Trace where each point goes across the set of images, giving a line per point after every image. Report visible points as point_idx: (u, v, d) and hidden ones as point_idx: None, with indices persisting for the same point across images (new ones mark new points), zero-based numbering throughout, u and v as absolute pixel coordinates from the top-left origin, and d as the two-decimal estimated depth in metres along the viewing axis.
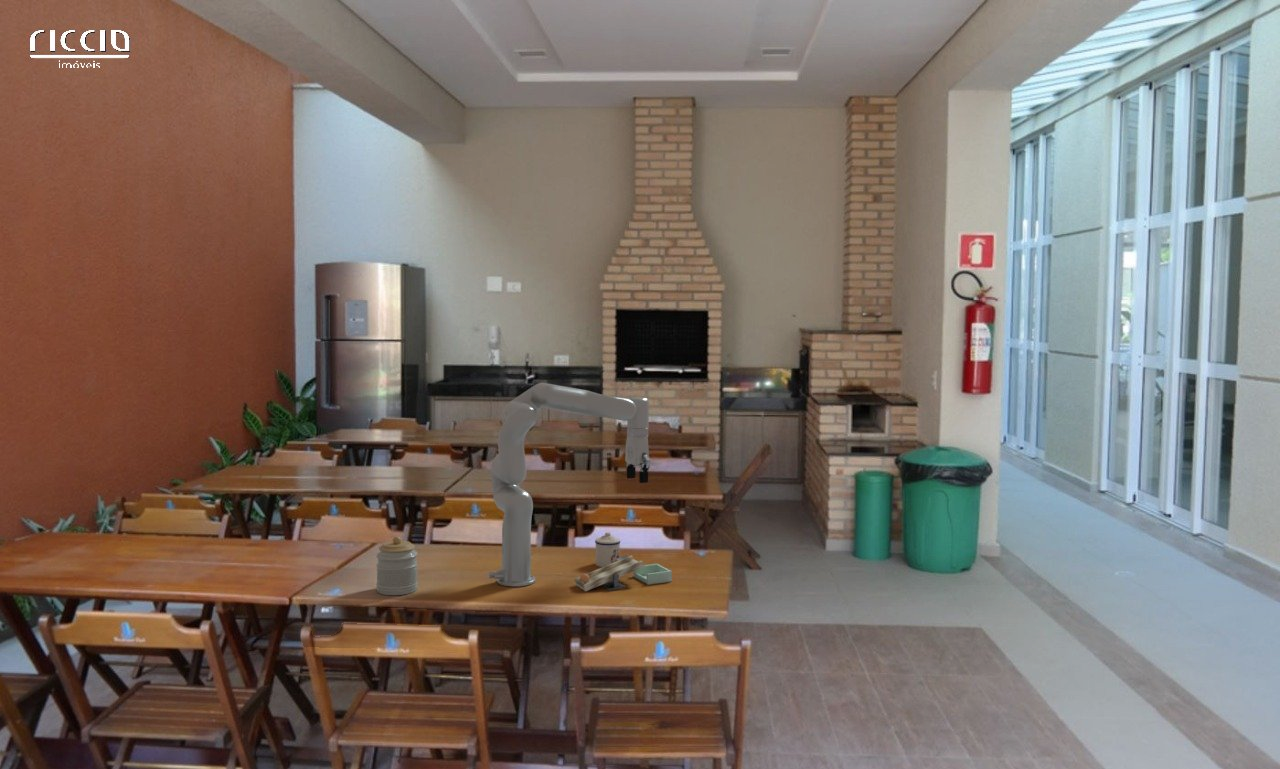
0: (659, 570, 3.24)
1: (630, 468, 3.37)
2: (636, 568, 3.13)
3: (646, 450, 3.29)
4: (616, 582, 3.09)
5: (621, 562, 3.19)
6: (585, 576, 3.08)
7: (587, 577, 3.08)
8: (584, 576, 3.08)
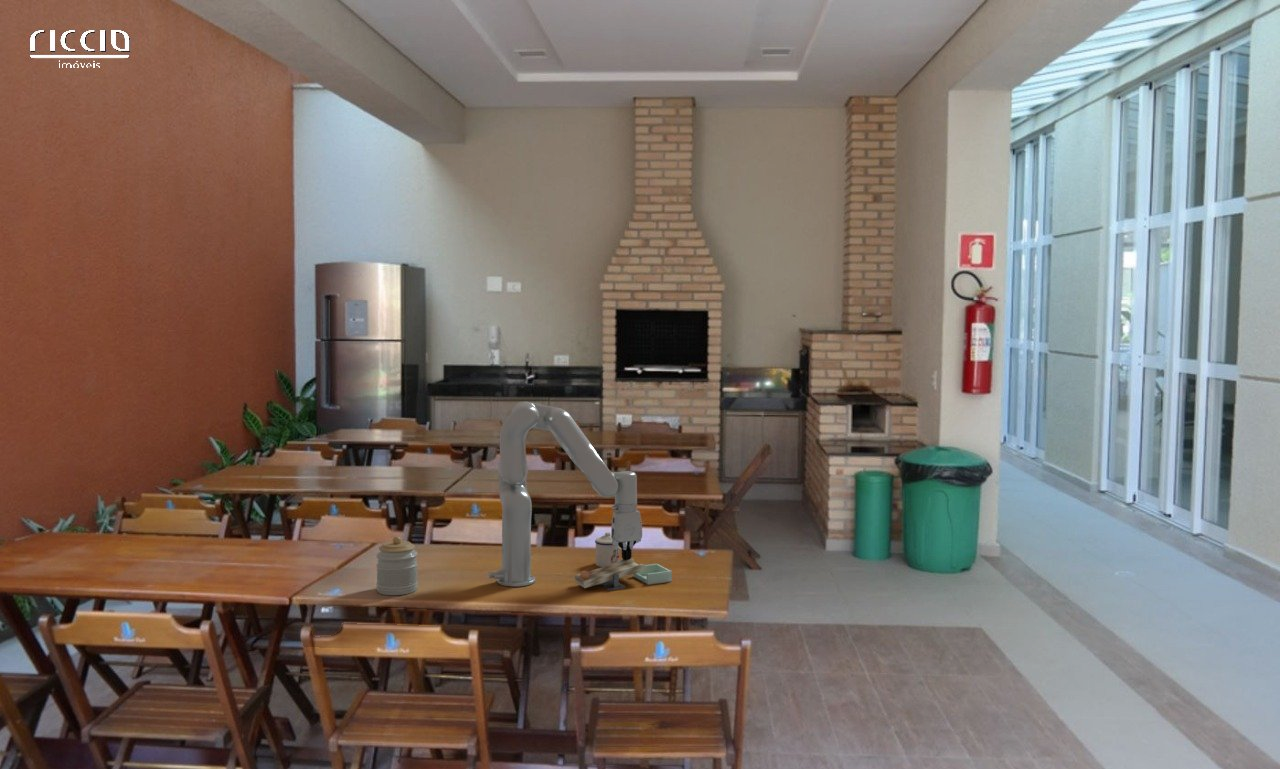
0: (659, 570, 3.24)
1: None
2: (636, 570, 3.13)
3: None
4: (616, 582, 3.09)
5: (622, 564, 3.19)
6: (585, 573, 3.08)
7: (587, 574, 3.08)
8: (584, 573, 3.08)
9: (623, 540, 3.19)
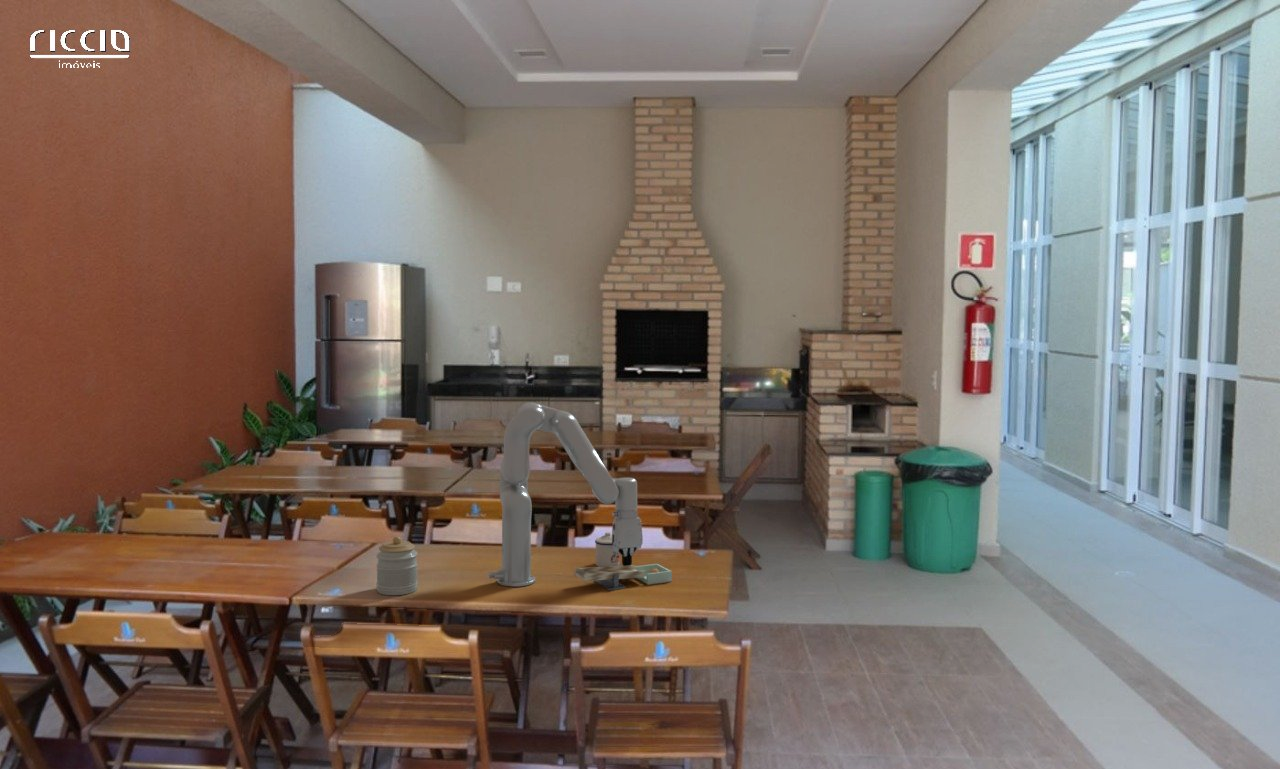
0: (659, 570, 3.24)
1: None
2: (637, 576, 3.13)
3: None
4: (616, 582, 3.09)
5: (623, 568, 3.19)
6: None
7: None
8: None
9: (623, 546, 3.19)
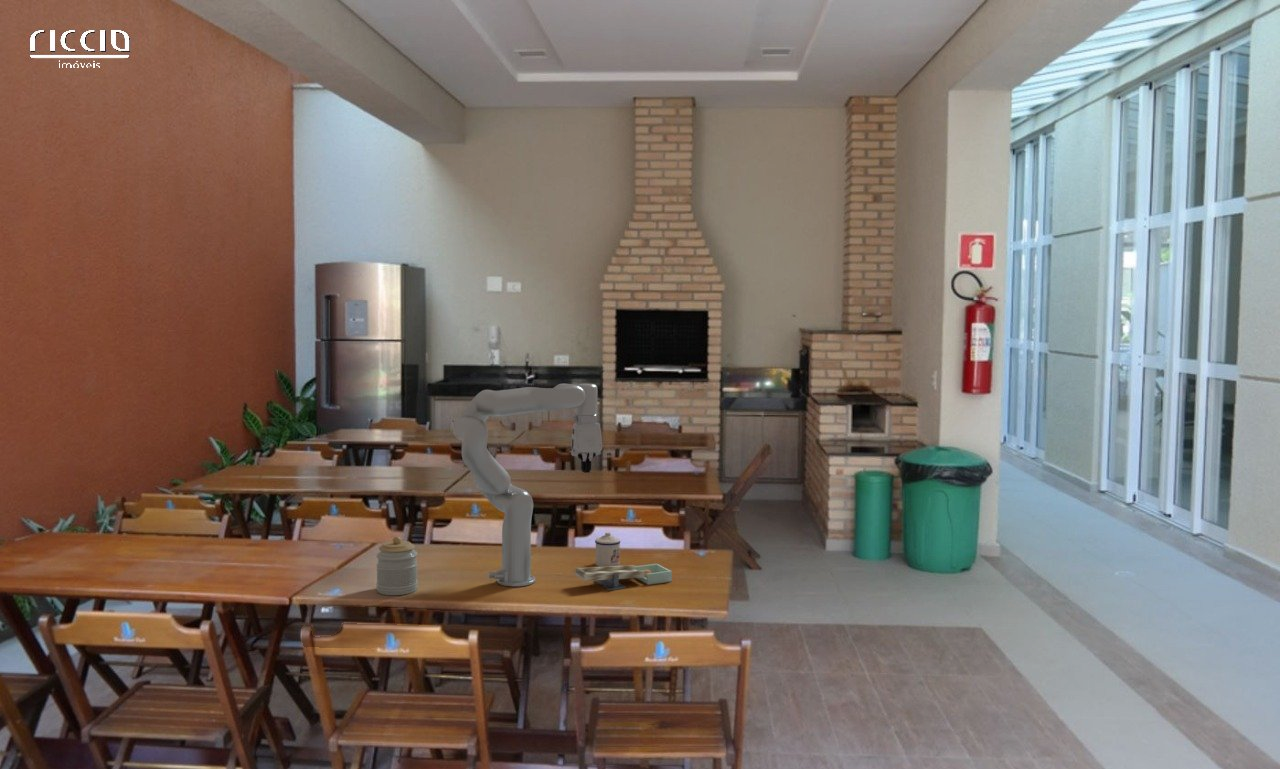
0: (659, 570, 3.24)
1: None
2: (637, 576, 3.13)
3: None
4: (616, 582, 3.09)
5: (623, 568, 3.19)
6: None
7: None
8: None
9: (582, 451, 3.22)
